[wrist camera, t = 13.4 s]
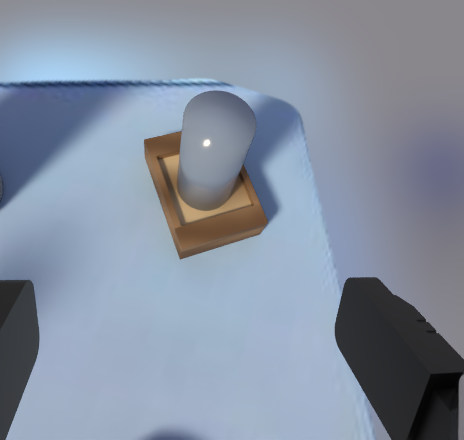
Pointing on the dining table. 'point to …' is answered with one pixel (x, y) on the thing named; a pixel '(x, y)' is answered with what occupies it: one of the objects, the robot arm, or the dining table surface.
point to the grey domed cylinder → (213, 148)
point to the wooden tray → (196, 221)
